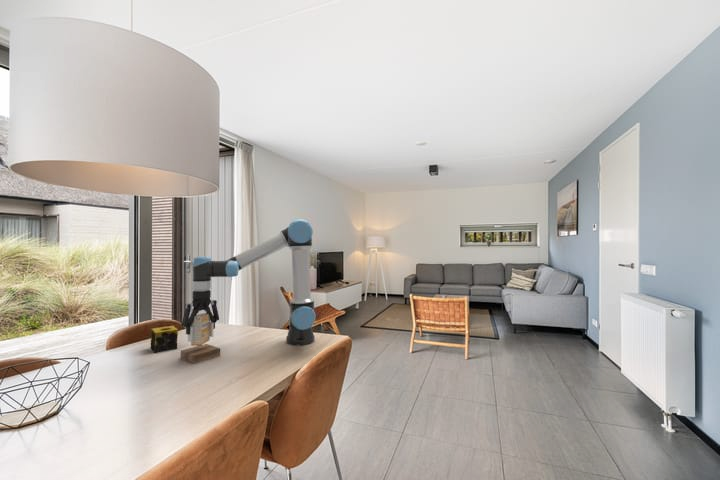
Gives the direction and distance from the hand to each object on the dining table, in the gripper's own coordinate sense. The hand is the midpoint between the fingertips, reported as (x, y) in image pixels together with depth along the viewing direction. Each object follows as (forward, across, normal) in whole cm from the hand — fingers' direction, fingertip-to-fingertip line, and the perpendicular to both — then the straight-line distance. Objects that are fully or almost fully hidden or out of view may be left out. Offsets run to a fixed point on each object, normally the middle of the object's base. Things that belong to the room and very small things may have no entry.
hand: (200, 338), depth 143 cm
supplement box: (+2, 0, 0) cm, 2 cm away
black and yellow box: (+9, +4, -27) cm, 29 cm away
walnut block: (+9, 0, 0) cm, 9 cm away
